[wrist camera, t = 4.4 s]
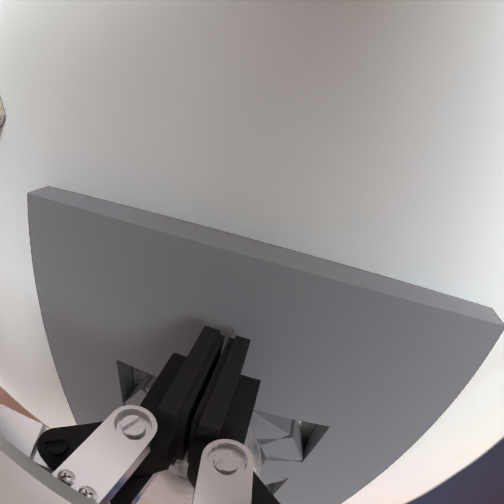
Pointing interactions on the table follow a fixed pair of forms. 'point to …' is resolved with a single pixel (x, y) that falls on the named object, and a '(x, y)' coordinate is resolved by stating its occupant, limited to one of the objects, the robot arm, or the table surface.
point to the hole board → (252, 336)
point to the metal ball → (178, 485)
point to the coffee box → (1, 113)
